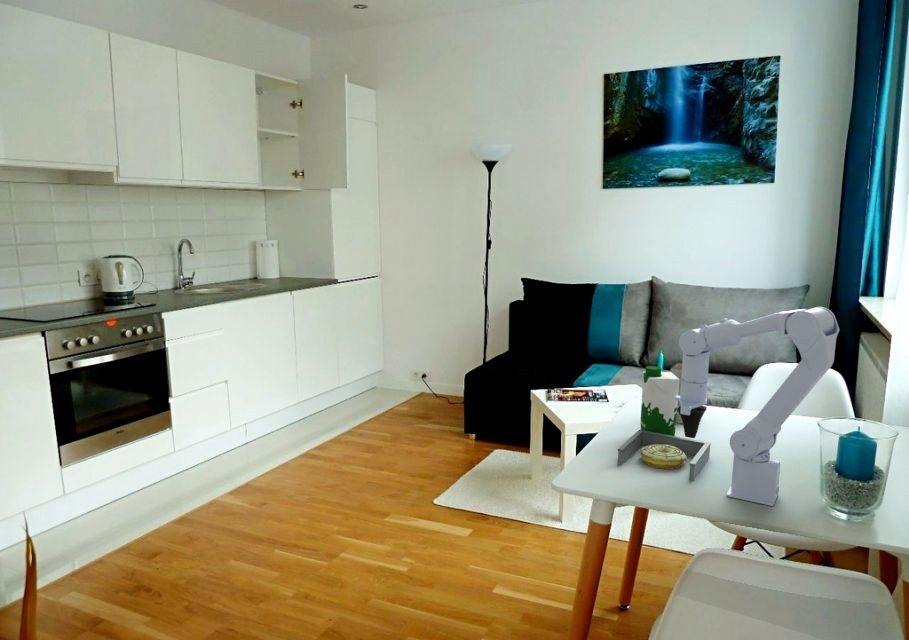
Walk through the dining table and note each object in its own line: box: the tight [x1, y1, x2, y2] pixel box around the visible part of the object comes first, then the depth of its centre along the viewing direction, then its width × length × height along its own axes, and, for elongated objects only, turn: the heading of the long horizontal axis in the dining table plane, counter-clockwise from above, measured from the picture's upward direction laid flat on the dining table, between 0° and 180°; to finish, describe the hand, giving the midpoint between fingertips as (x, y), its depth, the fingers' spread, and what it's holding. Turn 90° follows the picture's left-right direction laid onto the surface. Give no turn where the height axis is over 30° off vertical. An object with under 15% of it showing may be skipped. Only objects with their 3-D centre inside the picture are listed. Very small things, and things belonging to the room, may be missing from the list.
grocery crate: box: [617, 429, 712, 482], centre depth 169 cm, size 18×17×4 cm
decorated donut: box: [640, 444, 688, 470], centre depth 168 cm, size 10×11×4 cm
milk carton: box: [640, 365, 680, 436], centre depth 183 cm, size 9×9×20 cm
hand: (690, 436), depth 159 cm, fingers closed
